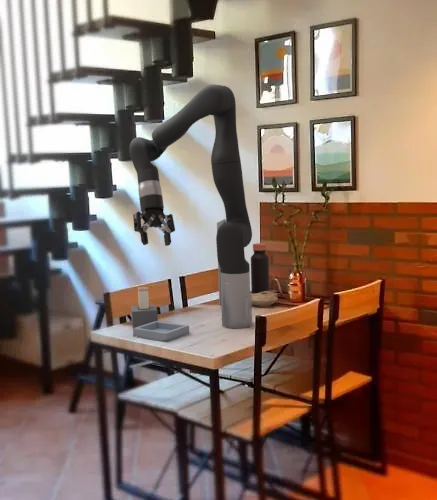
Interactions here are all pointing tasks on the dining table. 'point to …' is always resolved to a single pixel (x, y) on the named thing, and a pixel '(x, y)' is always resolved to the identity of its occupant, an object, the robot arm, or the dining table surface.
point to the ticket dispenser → (143, 315)
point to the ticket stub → (143, 298)
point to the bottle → (259, 269)
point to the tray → (161, 331)
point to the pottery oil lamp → (263, 298)
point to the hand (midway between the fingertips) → (156, 244)
